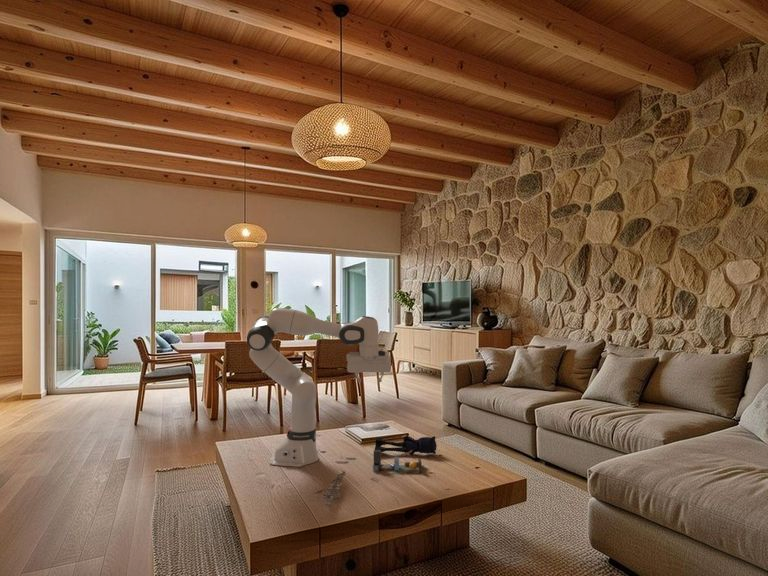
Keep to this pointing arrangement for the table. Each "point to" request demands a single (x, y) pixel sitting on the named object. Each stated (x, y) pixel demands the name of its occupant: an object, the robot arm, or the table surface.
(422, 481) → the table surface
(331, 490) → the carved scroll ornament
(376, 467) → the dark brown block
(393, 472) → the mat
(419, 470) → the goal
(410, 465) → the ball
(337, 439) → the table surface
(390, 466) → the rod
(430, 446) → the toy
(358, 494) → the table surface
